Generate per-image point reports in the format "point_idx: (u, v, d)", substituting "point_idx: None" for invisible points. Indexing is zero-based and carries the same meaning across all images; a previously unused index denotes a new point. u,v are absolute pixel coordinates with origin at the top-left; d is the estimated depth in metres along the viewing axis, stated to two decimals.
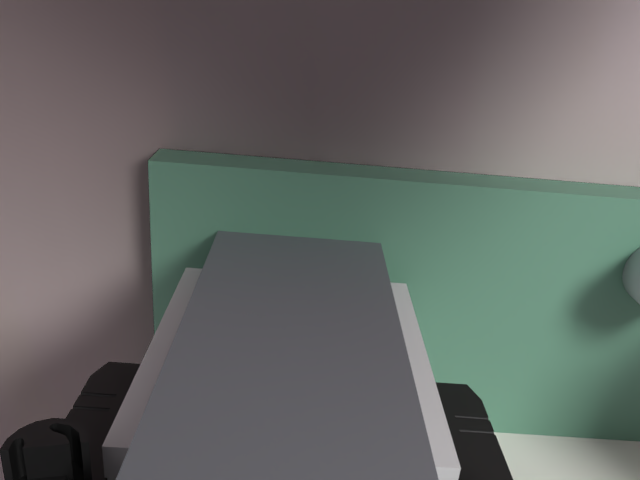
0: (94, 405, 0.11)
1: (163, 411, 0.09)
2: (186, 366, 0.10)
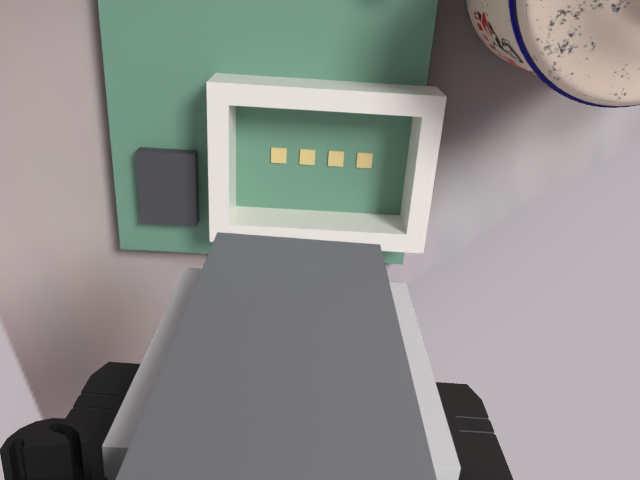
0: (94, 405, 0.11)
1: (162, 414, 0.09)
2: (185, 368, 0.10)
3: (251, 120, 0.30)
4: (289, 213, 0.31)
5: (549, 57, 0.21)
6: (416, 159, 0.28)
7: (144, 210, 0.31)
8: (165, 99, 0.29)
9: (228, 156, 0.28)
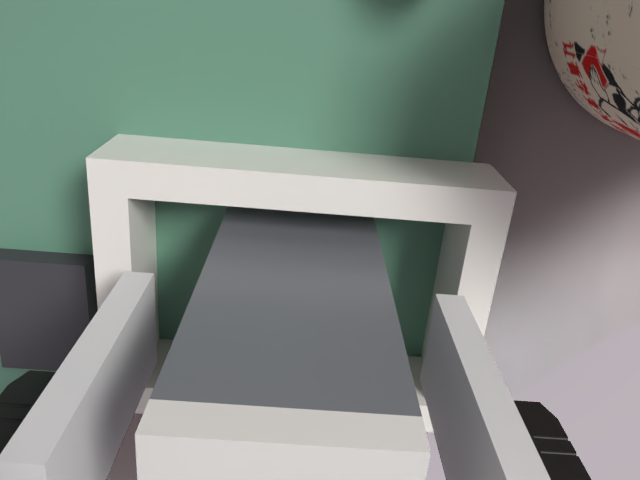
0: (6, 416, 0.11)
1: (192, 332, 0.11)
2: (209, 301, 0.12)
3: (181, 210, 0.18)
4: None
5: None
6: (457, 292, 0.16)
7: (7, 348, 0.19)
8: (35, 174, 0.17)
9: None
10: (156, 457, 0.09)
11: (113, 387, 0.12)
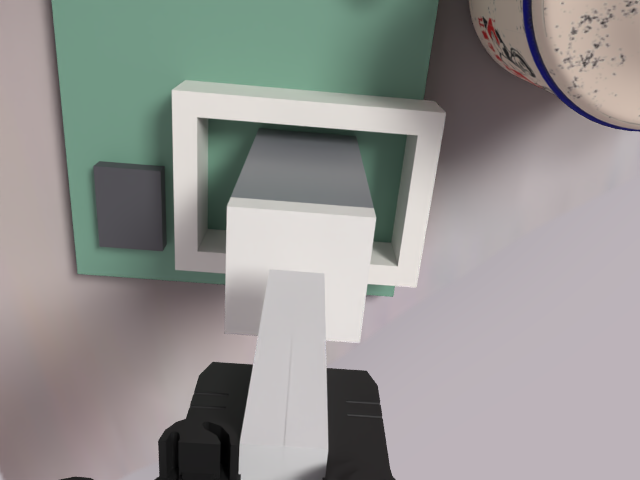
0: (210, 404, 0.12)
1: (247, 177, 0.20)
2: (254, 167, 0.21)
3: (225, 134, 0.26)
4: None
5: (569, 71, 0.17)
6: (410, 182, 0.25)
7: (103, 232, 0.27)
8: (128, 108, 0.26)
9: (197, 175, 0.24)
10: (237, 220, 0.17)
11: None
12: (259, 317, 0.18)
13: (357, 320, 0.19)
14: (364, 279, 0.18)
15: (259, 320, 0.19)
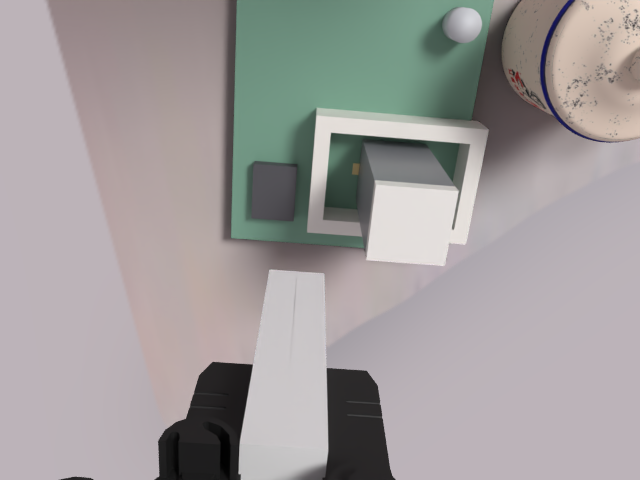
0: (210, 404, 0.12)
1: (376, 169, 0.33)
2: (376, 164, 0.34)
3: (340, 142, 0.40)
4: None
5: (566, 109, 0.31)
6: (464, 174, 0.38)
7: (255, 208, 0.41)
8: (277, 126, 0.39)
9: (327, 169, 0.38)
10: (380, 192, 0.31)
11: None
12: (387, 250, 0.32)
13: (444, 252, 0.32)
14: (449, 227, 0.31)
15: (387, 252, 0.32)
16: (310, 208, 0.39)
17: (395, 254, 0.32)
